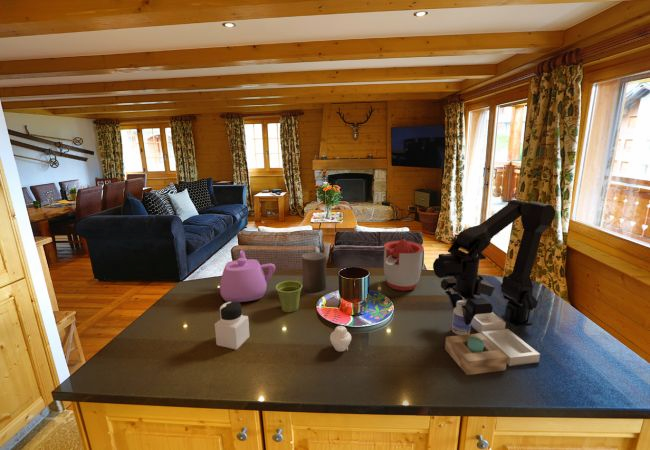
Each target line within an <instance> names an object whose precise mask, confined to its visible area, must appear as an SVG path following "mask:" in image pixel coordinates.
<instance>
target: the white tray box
mask: <svg viewBox="0 0 650 450" xmlns="http://www.w3.org/2000/svg"><path fill="white" fill-rule="evenodd" d="M506 323H507V322H506V321H504V319H502V318H501V317H499V316H498V315H496V314H495V313H494V312H493V311H492V313H486V314H476V315H475V316H474V318H473V319H472V321H471V328H473V329H474V330H475V331H476V332H477V333H481V332H484V331H493V330H502V329H506V325H507V324H506Z"/></svg>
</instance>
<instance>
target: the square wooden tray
mask: <svg viewBox="0 0 650 450" xmlns="http://www.w3.org/2000/svg"><path fill="white" fill-rule="evenodd" d="M469 337H477V338H480V339H482V340H483V341H484V348H483V352H476V353H472V352H471V351H470V350H469V349H468V348H467V343H468V338H469ZM444 350H445V351H446V353H448V354H449V356H450V357H451V358H452V359H453V361H454V362H455V363H456V364H457V365H458V367H460V368H461V370H462V371H463V372H464V374H465V375H466V376H471V375H479V374H484V373H485V374H486V373H493V372H502V371H506V370H507V365H508V364H507V356H506V355H505V354H504V353H503V352H502V351H501V350H500V349H498V348H497V347H496V346H495V345H494V344H493V343H492V342H491V341H490V340H488V339H487V338H486V337H485V336H484V335H483V334H482V333H478V332H477V333H470V334H467V335H458V334H457V335H449V336H446V337H445V343H444Z"/></svg>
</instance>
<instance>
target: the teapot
mask: <svg viewBox="0 0 650 450" xmlns="http://www.w3.org/2000/svg"><path fill="white" fill-rule="evenodd" d="M223 268H224V269H223V271H222V274H221V278H220V284H219V285H220V286H219V293H220V296H221V298H222V299H223V300H224V302H226V303H227V302H238V303H242V302H243V303H245V302H251V301H256V300H259V299H262V298H263V297H264V296H265V294H266V292H267V288H268V287H267V286H268V285H267V283H268V282H269V280H270V279H271V277H272V276H273V275H274V273H275V270H276V265H275V264H274V263H271V262H270V263H264V264H263V263H262V264H260V262H259V260H257V259H253V258H252V259H249V258H248V259H247V257H246V253H245V250H243V249H241V250H240V251H239V257H238V258H237V259H236V260H230V261H228V262H227V263H225V266H224V267H223ZM263 269H269V270H268V273H267V275H265V272H264V270H263Z"/></svg>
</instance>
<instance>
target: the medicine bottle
mask: <svg viewBox="0 0 650 450" xmlns="http://www.w3.org/2000/svg"><path fill="white" fill-rule="evenodd" d="M242 311H243V310H242V304H241V302H227V301H226V302H225V303H223V304H222V305H220V307H219V313H220V319H219V320H217V322H215V323H214V330H215V331H214V332H215V341H216V342H215V343H216V346H219V347H224V348H227V349H233V350H238V349H239V348H240V347H241V346H242V345H243V344H244V343H245V342H246V341H247V340H248V339H249V338H250V323H249V316H248V315H243V312H242Z"/></svg>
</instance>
